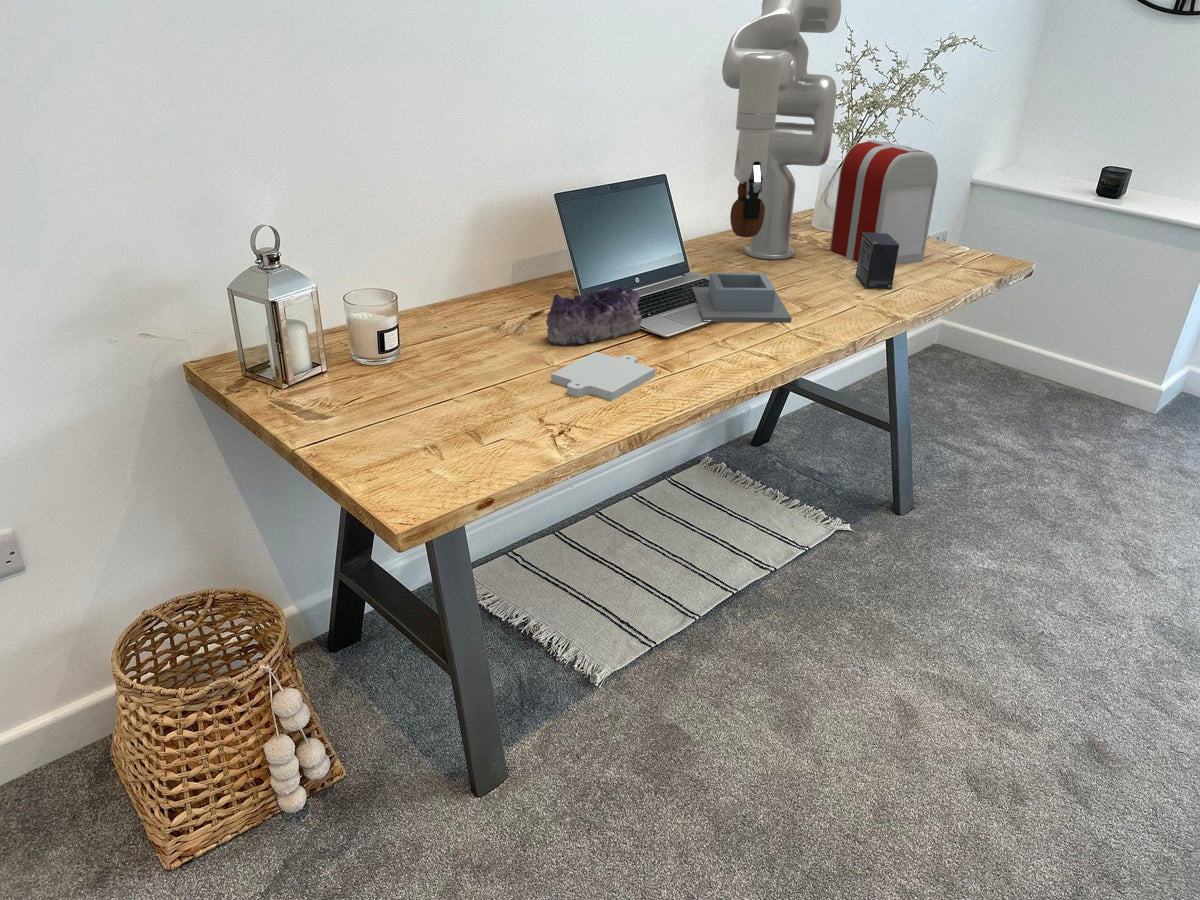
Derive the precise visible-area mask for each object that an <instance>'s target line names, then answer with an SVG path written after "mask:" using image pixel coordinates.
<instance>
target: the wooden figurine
mask: <svg viewBox="0 0 1200 900" xmlns="http://www.w3.org/2000/svg"><path fill="white" fill-rule="evenodd" d="M752 171H753V169H752ZM749 182H753V180H749ZM751 187H753V186H750V188H751ZM761 193H762V184H761ZM738 196H739V197H740V199H738V198H737V199H736V200H735V201H734V202H732V203H733V204H732V206H731V209H730V216H729V219H730V225H731V229H732V231H733V233H734V234H735V235H736V236H737V237H740V238H751V237H753V236H755V235H757V234H758V233H759V231H760V229H761V227H762V224H763V221H764V215H765V207H764V203H763V202H762V200H761V201H760V211H759V218H758V219H744V218H743V206H744V198H746V182H744V184H741V183H740V182H739V183H738V186H737V197H738Z"/></svg>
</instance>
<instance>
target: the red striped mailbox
mask: <svg viewBox="0 0 1200 900" xmlns="http://www.w3.org/2000/svg"><path fill="white" fill-rule="evenodd" d="M839 170H840V171H839V178H838V185H837V191H836V200H835V209H834V217H833V223H832V230H831V237H830V245H829V251H831V252H833V253H835V254H838V255H839V256H842V257H844V258H846V259H848V260H851V261H854V262H857V263H858V258H859V252H860V246H861V239H862V232H868V233H886V234H889V235H890V236H891V237H892V238H893V239H894V240H895V241H896V242H897V243H898V244H899V250H898V255H897V261H896V266H897V265H898V266H899V265H906V264H915V263H922V262H924V256H925V250H926V246H927V239H928V233H929V228H930V225H931V224H930V223H931V218H932V212H933V205H934V202H935V200H934V199H935V195H936V190H937V183H938V177H939V176H938V175H939V171H938V163H937V160H936V157H935V156H934V155H933V154H932V153H930V152H928V151H923V150H919V149H915V148H912V147H911V146H908V145H903V144H895V143H890V142H887V141H880V140H876V139H871V140H867V141H863V142H860V143H859V142H858V143H855V144H854V145H853V146H851V147H850V148H849V150H848V151H847V152H846V154H845V156H844V158H843V160H842V163H841V165H840V169H839Z"/></svg>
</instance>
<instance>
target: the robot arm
mask: <svg viewBox="0 0 1200 900" xmlns="http://www.w3.org/2000/svg"><path fill="white" fill-rule="evenodd" d="M841 14H842V0H762V2H761V14H760V16H758V17H756V18H754V19H753V20H751V21H749V22H747V23H746V24H745V25H743V26H741V27H739V29H737V30H736V31H735V33H734V34H733V35H732V36H731V39H730V40H729V43H728V45H727V49H726V52H725V55H724V58H723V63H722V67H721V68H722V69H721V70H722V71H721V74H722V75H721V76H722V80H723V82H724V84H725V85H726V86H727V87H729V88H730V89H734V90H738V98H737V99H738V100H737V112H736V124H735V130H736V131H739V132H738V139H737V147H736V153H735V164H734V170H733V175H734V177H735V178H736V180H737V181H738V182H739V183H741V184H744V182H746V198H744V206H743V218H744V219H758V218H759V211H760V201H761V200H762V202H763V203H764V207H765V215H764V221H763V224H762V227H761V229H760V231H759V233H758V234H757V235H755V236H753V237H750V240H751V241H750V243H749V244H746V245H745V246H744V248H743V249H744V250H743V252H744V253H745V254H746V255H747V256H750V257H753V258H757V259H765V260H785V259H789V258H791V257H793V256H794V255H795V249H794V248H793V246H790V240H791V239H790V238H791V229H792V222H793V220H792V219H793V211H794V204H795V203H794V202H795V194H796V179H795V177H794V175H793V174H792V172H791V171H790V169H789V167H788V166H805V167H820V166H823V165H825V164H826V163H827V161H828V159H829V156H830V151H831V144H832V137H833V131H834V130H833V129H834V121H835V113H836V104H837V84H836V81H835V79H834V78H833V77H831V76H829V75H826V74H814V73H813V74H812V73H808V70H807V69H808V61H809V51H810V50H809V47H808V45H807V42H806V41H805V39H804V38H803V36H802V35H801V34H800V33H806V34H807V33H812V34H816V33H817V34H829V33H831V32H833V31H834V30H835V29H836V28H837V27H838V25H839V22H840V19H841V16H842V15H841ZM777 116H779V117H791V118H792V117H793V118H809V119H811V120H813V123H798V122H786V121H785V122H784V121H777V119H776V118H777ZM752 169H753V171H752ZM749 180H753V182H749ZM761 184H762V193H761ZM750 186H753V187H751V188H750ZM737 199H740V197H739V196H738V195H737Z"/></svg>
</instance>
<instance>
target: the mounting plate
mask: <svg viewBox="0 0 1200 900" xmlns="http://www.w3.org/2000/svg"><path fill="white" fill-rule="evenodd" d="M655 377H656V368H655V367H651V366H647V365H644V364H640V363H638V357H637V356H634V355H631V354H624V355H621V356H611V355H609V354H605V353H601V352H598V351H597V352H596V351H595V352H592V353H590V354H589V355H587V356H585V357H583V358H580V359H578V360H575V362H572V363H570V364H568V365H566V366H564V367H562V368H560V369H558V370H556V371H553V372H552V373H550V382H551V383H554V384H557V385H561V386H563V387H567V393H566V394H567V395H569V396H571V397H574V398H582V397H584V396H586V395H592V396H595V397H599V398H602V399H606V400H609V401H615V400H616V399H618V398H620V397H621V396H623V395H625V394H626V393H628V392H631V391H632V390H634V389H636V388H638V387H639V386H641V385H643V384H644V383H646V382H648V381H650V380H652V379H653V378H655Z"/></svg>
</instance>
